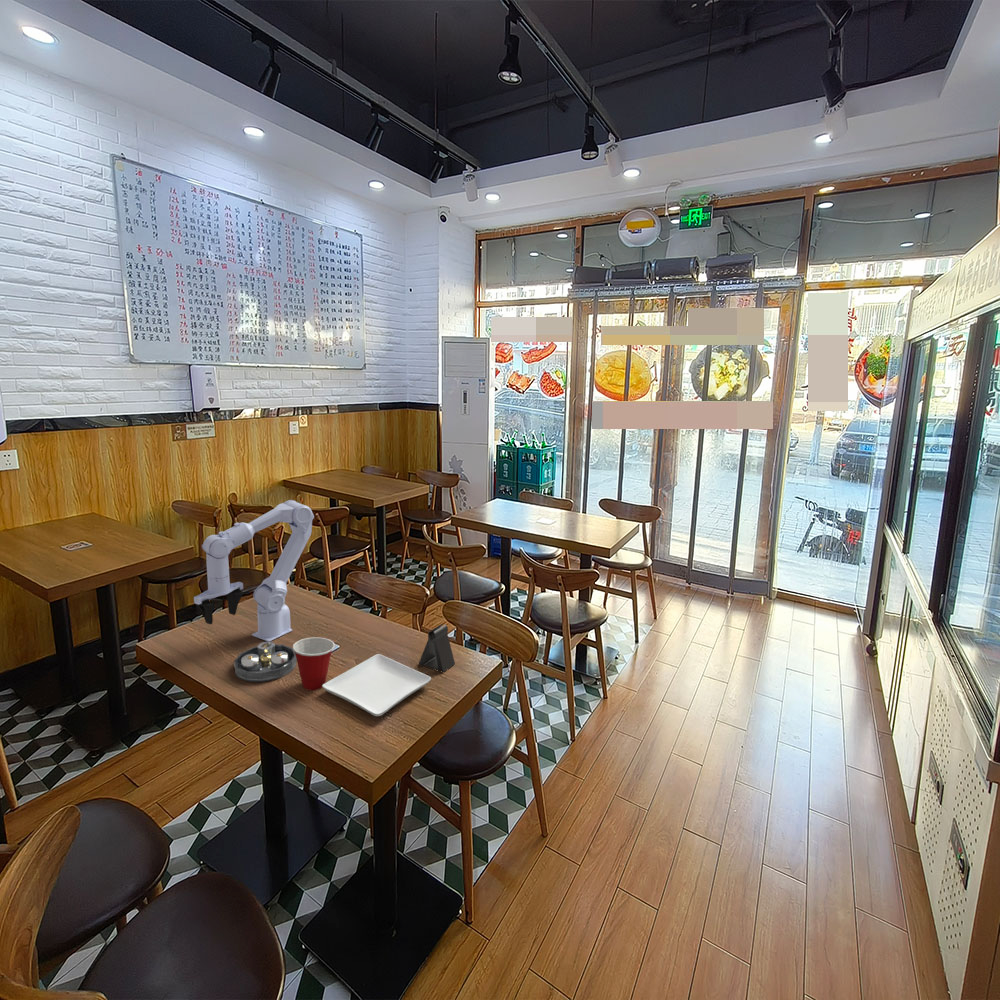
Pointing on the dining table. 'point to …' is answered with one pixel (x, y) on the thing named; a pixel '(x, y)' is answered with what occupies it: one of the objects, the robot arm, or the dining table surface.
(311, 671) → the plastic cup
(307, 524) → the robot arm
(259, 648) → the octagonal tube
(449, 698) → the dining table surface
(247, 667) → the carrier
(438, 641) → the phone stand
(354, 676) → the salad plate
